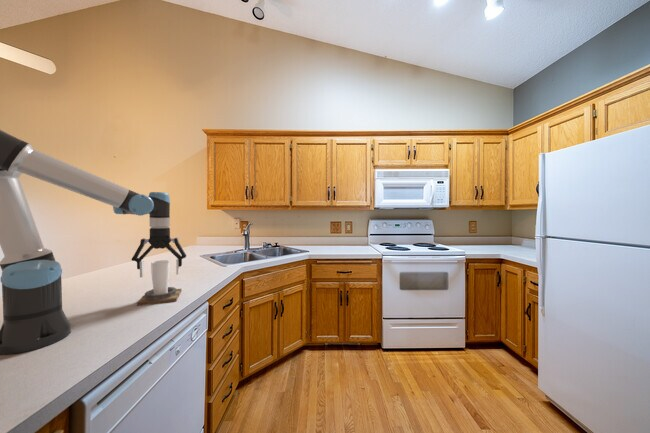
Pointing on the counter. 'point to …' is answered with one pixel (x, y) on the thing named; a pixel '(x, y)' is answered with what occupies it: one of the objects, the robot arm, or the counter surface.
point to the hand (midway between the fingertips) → (160, 275)
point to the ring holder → (159, 297)
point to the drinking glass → (160, 276)
